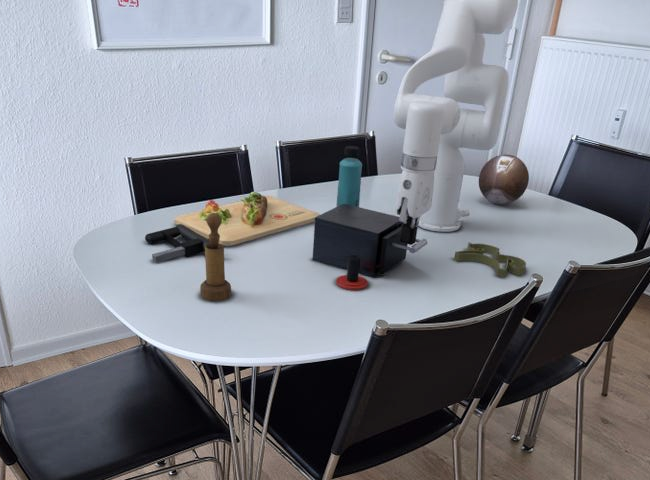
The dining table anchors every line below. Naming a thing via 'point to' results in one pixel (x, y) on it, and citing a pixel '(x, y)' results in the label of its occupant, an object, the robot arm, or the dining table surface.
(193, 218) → the cutting board
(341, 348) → the dining table surface
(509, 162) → the wooden sphere
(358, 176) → the beverage bottle
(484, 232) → the dining table surface
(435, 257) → the dining table surface
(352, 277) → the lid
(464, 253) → the cookie cutter
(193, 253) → the toy gun
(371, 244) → the dark grey metal box
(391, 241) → the drawer
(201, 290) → the mortar and pestle
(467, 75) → the robot arm
